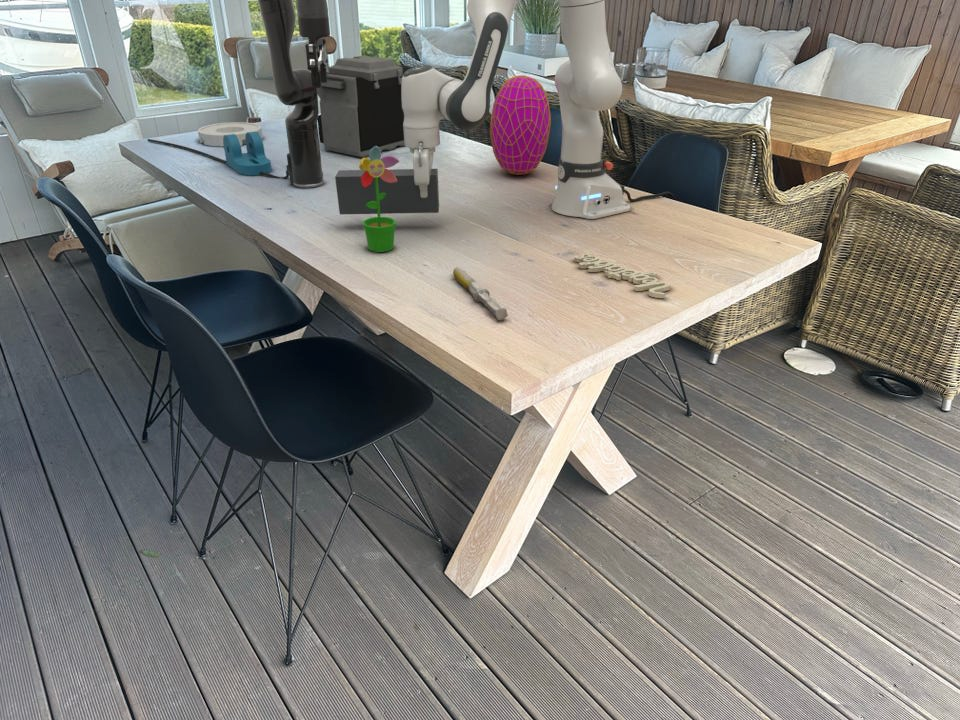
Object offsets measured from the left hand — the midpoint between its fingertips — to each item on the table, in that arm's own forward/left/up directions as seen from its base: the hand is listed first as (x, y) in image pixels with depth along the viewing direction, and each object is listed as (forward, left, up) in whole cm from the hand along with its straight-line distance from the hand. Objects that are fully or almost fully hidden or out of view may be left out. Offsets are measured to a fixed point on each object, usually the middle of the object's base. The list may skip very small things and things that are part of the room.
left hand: (320, 85), depth 178 cm
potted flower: (+25, -25, -33) cm, 48 cm away
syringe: (+55, -46, -33) cm, 79 cm away
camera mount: (-43, +30, -33) cm, 62 cm away
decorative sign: (+84, -26, -33) cm, 94 cm away
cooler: (-17, +71, -33) cm, 80 cm away
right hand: (+31, -9, -23) cm, 39 cm away
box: (+22, -11, -28) cm, 37 cm away
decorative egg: (+44, +50, -33) cm, 74 cm away
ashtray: (-72, +66, -33) cm, 103 cm away
